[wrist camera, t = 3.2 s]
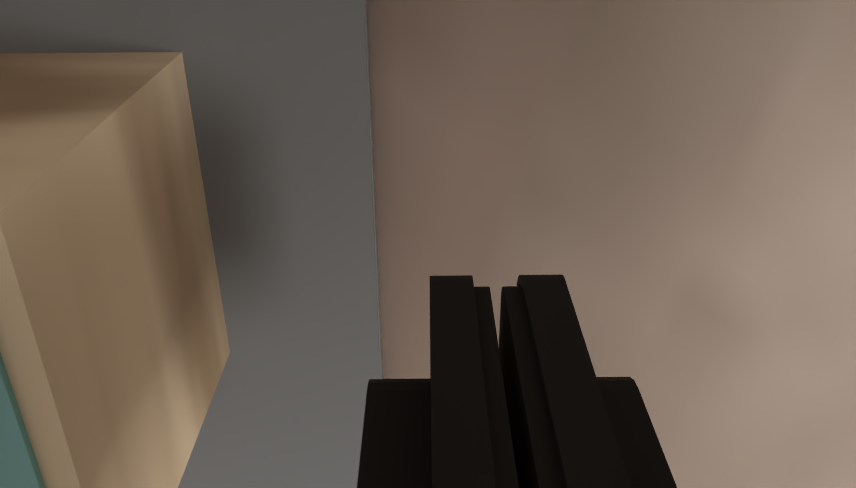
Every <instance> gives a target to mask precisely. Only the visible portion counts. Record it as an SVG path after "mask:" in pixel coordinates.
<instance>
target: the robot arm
mask: <svg viewBox="0 0 856 488" xmlns="http://www.w3.org/2000/svg"><path fill="white" fill-rule="evenodd" d="M430 367H431V379H369V381H368V387H367V394H366V404H365V414H364V423H363V433H362V442H361V452H360V462H359V471H358V481H357V488H677V486H676V484H675V481H674V479H673V476H672V474H671V471H670V469H669V466H668V463H667V461H666V458H665V456H664V453H663V451H662V448H661V445H660V443H659V440H658V438H657V435H656V433H655V430H654V427H653V425H652V422H651V420H650V417H649V415H648V412H647V409H646V407H645V404H644V402H643V399H642V397H641V394H640V392H639V389H638V387H637V385H636V383H635V381H634V380H633V379H632V378H630V377H596V375H595V372H594V369H593V366H592V363H591V359H590V356H589V353H588V350H587V347H586V344H585V341H584V337H583V334H582V331H581V328H580V325H579V322H578V319H577V316H576V312H575V309H574V306H573V303H572V300H571V297H570V294H569V291H568V287H567V284H566V281H565V278H564V276H563V275H519V277H518V281H517V286H508V287H502V292H501V310H500V333H499V348H498V341H497V334H496V327H495V320H494V313H493V306H492V300H491V293H490V287H474V284H473V277H472V276H430Z"/></svg>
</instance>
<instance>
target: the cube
mask: <svg viewBox="0 0 856 488" xmlns="http://www.w3.org/2000/svg"><path fill="white" fill-rule="evenodd" d="M229 354H230V349H229V343H228V337H227V331H226V324H225V318H224V312H223V306H222V299H221V293H220V287H219V281H218V274H217V268H216V262H215V256H214V249H213V243H212V237H211V231H210V224H209V218H208V212H207V206H206V199H205V193H204V187H203V181H202V174H201V168H200V162H199V156H198V149H197V143H196V137H195V131H194V124H193V118H192V112H191V106H190V99H189V93H188V87H187V80H186V74H185V68H184V62H183V55H182V52H117V53H0V488H178V486H179V483H180V481H181V478H182V476H183V473H184V471H185V468H186V465H187V463H188V460H189V458H190V455H191V452H192V450H193V447H194V445H195V442H196V439H197V437H198V434H199V432H200V429H201V426H202V424H203V421H204V419H205V416H206V413H207V411H208V408H209V406H210V403H211V400H212V398H213V395H214V393H215V390H216V387H217V385H218V382H219V380H220V377H221V374H222V372H223V369H224V367H225V364H226V361H227V359H228V356H229Z"/></svg>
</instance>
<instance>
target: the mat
mask: <svg viewBox="0 0 856 488" xmlns="http://www.w3.org/2000/svg"><path fill="white" fill-rule="evenodd" d="M117 52H182V55H183V62H184V68H185V74H186V80H187V87H188V93H189V99H190V106H191V112H192V118H193V124H194V131H195V137H196V143H197V149H198V156H199V162H200V168H201V174H202V181H203V187H204V193H205V199H206V206H207V212H208V218H209V224H210V231H211V237H212V243H213V249H214V256H215V262H216V268H217V274H218V281H219V287H220V293H221V299H222V306H223V312H224V318H225V324H226V331H227V337H228V343H229V349H230V354H229V356H228V359H227V361H226V364H225V367H224V369H223V372H222V374H221V377H220V380H219V382H218V385H217V387H216V390H215V393H214V395H213V398H212V400H211V403H210V406H209V408H208V411H207V413H206V416H205V419H204V421H203V424H202V426H201V429H200V432H199V434H198V437H197V439H196V442H195V445H194V447H193V450H192V452H191V455H190V458H189V460H188V463H187V465H186V468H185V471H184V473H183V476H182V478H181V481H180V483H179V486H178V488H357V481H358V471H359V462H360V452H361V442H362V433H363V423H364V414H365V404H366V394H367V387H368V381H369V379H383V372H382V349H381V326H380V303H379V280H378V257H377V234H376V211H375V188H374V165H373V143H372V120H371V97H370V74H369V51H368V28H367V5H366V0H0V53H117Z"/></svg>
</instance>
